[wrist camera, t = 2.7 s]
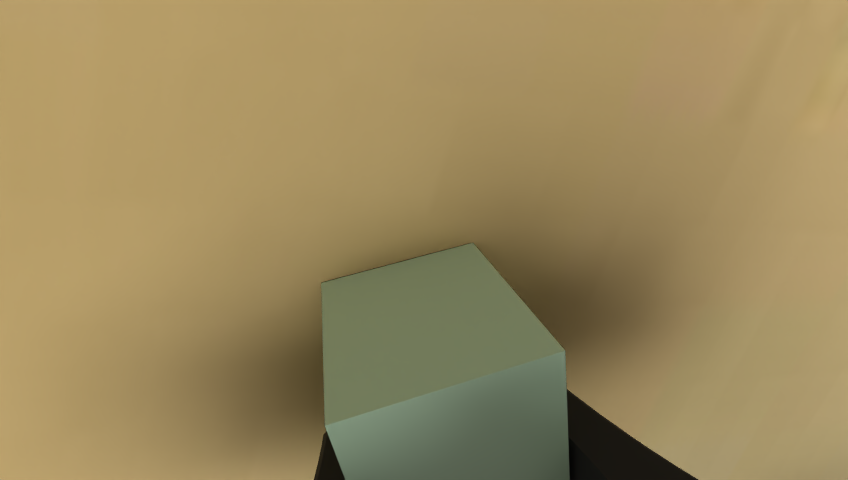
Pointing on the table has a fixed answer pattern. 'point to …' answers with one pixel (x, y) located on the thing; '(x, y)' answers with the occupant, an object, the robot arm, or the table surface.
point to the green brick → (441, 375)
